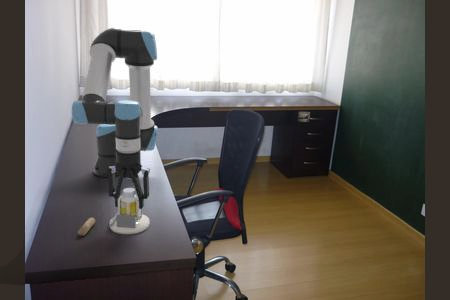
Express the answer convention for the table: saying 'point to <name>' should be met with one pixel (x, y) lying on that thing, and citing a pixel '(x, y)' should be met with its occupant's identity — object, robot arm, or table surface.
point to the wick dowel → (86, 226)
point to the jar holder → (129, 224)
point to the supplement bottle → (128, 202)
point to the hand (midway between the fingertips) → (129, 216)
